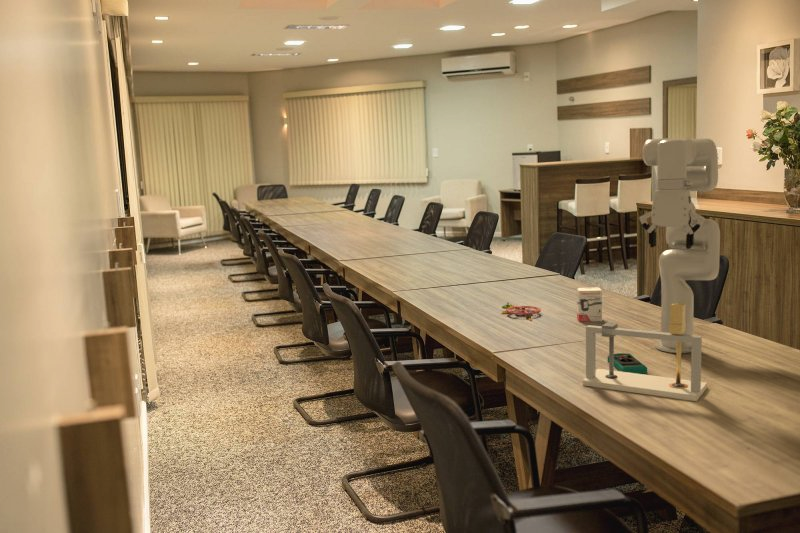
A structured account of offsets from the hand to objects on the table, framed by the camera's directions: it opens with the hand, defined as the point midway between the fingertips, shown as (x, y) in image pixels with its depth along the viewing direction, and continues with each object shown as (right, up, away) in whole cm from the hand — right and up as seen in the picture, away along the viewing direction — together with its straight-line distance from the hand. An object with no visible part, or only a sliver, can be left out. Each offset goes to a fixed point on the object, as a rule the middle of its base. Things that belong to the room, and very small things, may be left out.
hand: (670, 247), depth 219 cm
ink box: (-5, -25, +74) cm, 78 cm away
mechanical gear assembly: (-28, -24, +91) cm, 98 cm away
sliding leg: (-2, -36, -11) cm, 38 cm away
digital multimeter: (-8, -36, +14) cm, 39 cm away
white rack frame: (-9, -38, -4) cm, 39 cm away
